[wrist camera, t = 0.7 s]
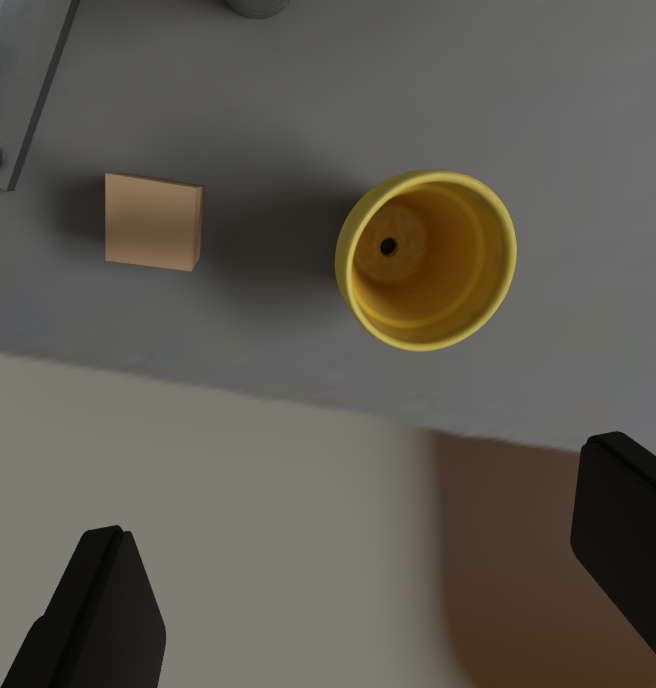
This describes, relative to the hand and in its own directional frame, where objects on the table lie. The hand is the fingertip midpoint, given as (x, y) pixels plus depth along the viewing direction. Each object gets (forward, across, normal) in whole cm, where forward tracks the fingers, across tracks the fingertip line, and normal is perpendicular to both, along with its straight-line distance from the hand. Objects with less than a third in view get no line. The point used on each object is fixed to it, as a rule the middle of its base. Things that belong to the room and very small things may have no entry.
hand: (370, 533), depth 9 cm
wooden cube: (+27, +8, -5) cm, 28 cm away
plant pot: (+27, -8, -1) cm, 28 cm away
